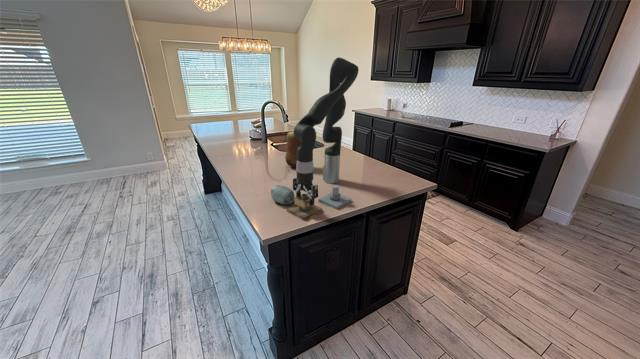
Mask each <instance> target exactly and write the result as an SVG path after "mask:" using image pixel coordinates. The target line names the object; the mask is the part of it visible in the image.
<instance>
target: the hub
mask: <svg viewBox="0 0 640 359" xmlns="http://www.w3.org/2000/svg"><path fill="white" fill-rule="evenodd" d="M331 185H332V184H331ZM331 188H332V189H331V192H330V193H328V194H326V195H324V196H321V197H319V198H318V202H319V203H321V204H322V205H323V204H324V205H325V206H328V207H330V208H332V209H335V210H338V209H340V208H342V207H344V206H345V205H347V204H349V203H351V202H352V198H351V197H348V196H346V195H343V194H341V193H340V192H339V190H340V187H339V185H338V184H333V185H332V186H331Z"/></svg>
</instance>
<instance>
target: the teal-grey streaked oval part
mask: <svg viewBox="0 0 640 359" xmlns="http://www.w3.org/2000/svg"><path fill="white" fill-rule="evenodd" d="M270 196H271V199H272V200H273V201H274V202H276V203H277V204H278V203H279V204H280V205H288V206H289V205H293V203H295V198H296V195H295V193H294V190H293V189H291V188H290V187H287V186H284V185H274V186H272V187H271V189H270Z"/></svg>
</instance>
